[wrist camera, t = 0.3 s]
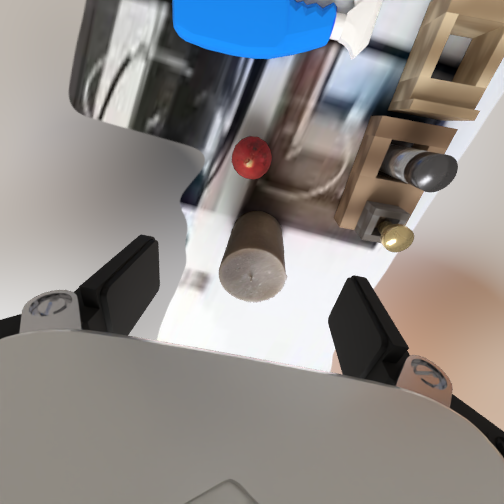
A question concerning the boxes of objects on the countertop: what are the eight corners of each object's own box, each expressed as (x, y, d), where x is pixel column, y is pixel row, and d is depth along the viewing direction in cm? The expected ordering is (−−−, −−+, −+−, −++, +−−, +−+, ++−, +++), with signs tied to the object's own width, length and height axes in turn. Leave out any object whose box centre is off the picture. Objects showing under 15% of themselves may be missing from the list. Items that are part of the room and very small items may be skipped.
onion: (246, 127, 35) (240, 129, 28) (278, 147, 36) (279, 153, 29) (229, 162, 38) (220, 171, 31) (260, 180, 39) (257, 193, 32)
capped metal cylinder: (382, 142, 35) (429, 151, 24) (407, 147, 35) (465, 158, 24) (371, 169, 37) (410, 188, 26) (395, 173, 37) (444, 195, 26)
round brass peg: (378, 213, 32) (391, 225, 29) (402, 218, 32) (419, 230, 29) (368, 235, 34) (379, 249, 31) (391, 240, 34) (405, 254, 31)
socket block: (371, 116, 33) (395, 114, 26) (438, 128, 33) (479, 130, 26) (333, 218, 41) (345, 236, 34) (388, 227, 41) (410, 248, 35)
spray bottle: (170, 40, 28) (360, 78, 29) (169, -103, 23) (402, -50, 24) (178, 46, 31) (352, 82, 32) (179, -80, 26) (389, -34, 26)
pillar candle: (227, 214, 42) (207, 257, 29) (280, 207, 41) (283, 248, 28) (238, 258, 47) (224, 311, 34) (285, 253, 46) (290, 307, 33)
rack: (430, 2, 27) (467, -26, 22) (495, 14, 27) (548, -11, 22) (387, 110, 32) (409, 108, 27) (442, 120, 33) (474, 120, 27)
